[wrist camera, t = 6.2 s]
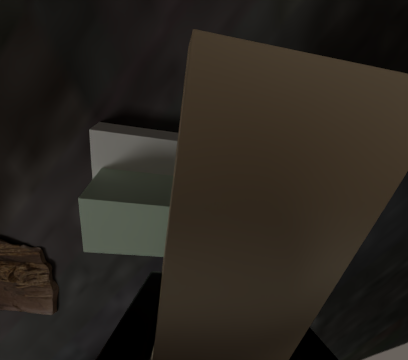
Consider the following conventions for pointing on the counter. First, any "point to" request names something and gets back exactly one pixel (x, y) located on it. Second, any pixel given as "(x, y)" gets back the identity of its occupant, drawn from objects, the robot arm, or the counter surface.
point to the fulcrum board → (132, 148)
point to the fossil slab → (26, 280)
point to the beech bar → (271, 193)
